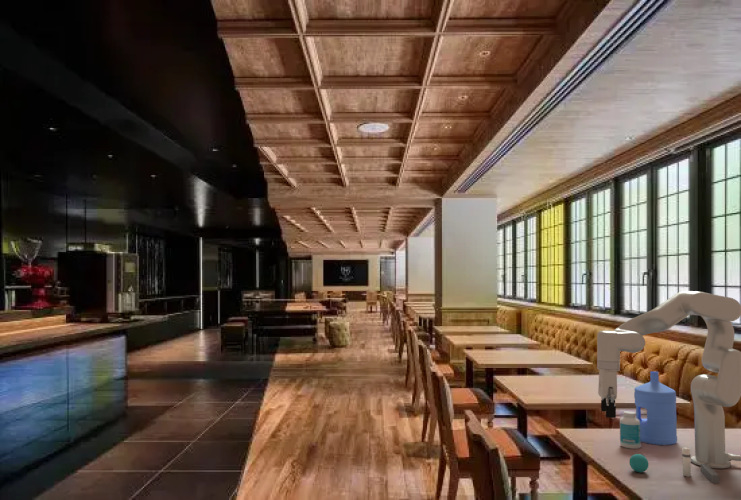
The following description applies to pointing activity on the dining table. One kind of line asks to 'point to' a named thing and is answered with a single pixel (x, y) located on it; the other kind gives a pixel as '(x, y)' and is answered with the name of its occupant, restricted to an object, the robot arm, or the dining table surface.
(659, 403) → the water jug
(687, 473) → the pin
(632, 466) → the ball
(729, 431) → the dining table surface
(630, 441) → the pill bottle
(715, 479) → the grey block
